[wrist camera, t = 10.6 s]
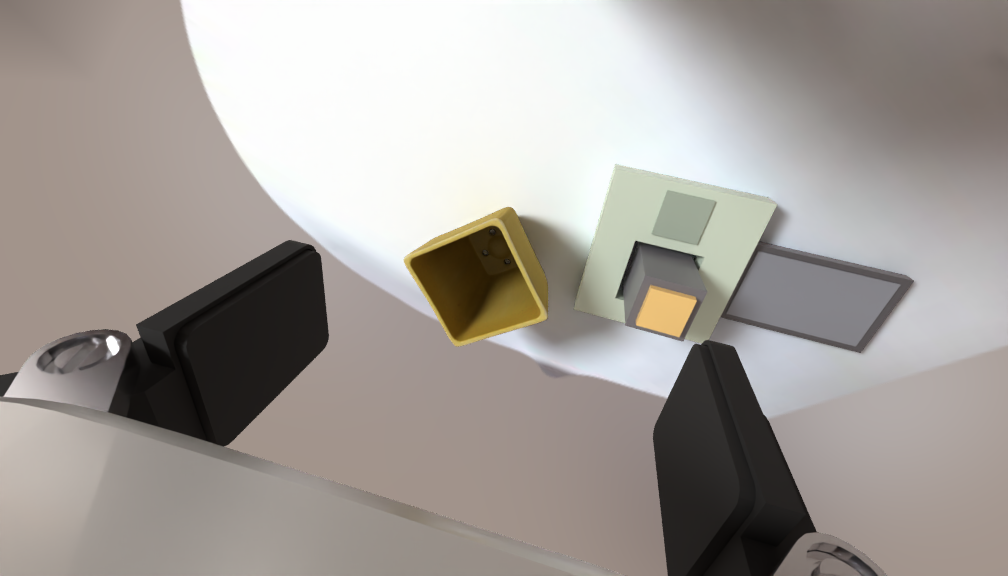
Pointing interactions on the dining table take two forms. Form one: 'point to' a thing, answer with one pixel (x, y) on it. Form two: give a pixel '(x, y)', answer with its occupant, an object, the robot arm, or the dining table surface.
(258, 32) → the dining table surface
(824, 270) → the phone slab
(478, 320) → the flower pot
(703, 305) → the outlet plate
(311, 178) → the dining table surface
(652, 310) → the block
